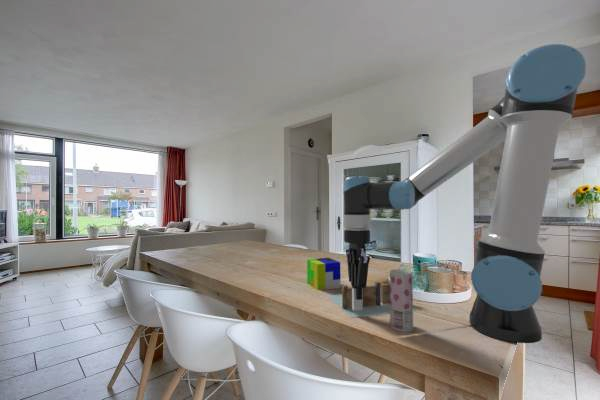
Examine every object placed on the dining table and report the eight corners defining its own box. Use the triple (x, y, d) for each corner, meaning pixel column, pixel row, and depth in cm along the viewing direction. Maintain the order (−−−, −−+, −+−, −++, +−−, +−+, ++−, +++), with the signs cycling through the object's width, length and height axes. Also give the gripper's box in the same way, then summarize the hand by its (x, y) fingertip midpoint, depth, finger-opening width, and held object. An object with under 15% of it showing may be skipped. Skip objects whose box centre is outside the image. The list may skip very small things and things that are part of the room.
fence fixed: (400, 300, 93) (400, 280, 93) (403, 301, 92) (403, 281, 92) (380, 302, 91) (380, 282, 91) (383, 304, 89) (383, 283, 90)
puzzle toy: (340, 287, 110) (340, 262, 110) (317, 290, 106) (317, 264, 106) (328, 281, 119) (328, 257, 119) (307, 283, 116) (307, 259, 116)
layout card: (417, 310, 86) (417, 309, 86) (352, 319, 80) (352, 317, 80) (382, 291, 105) (382, 289, 105) (326, 296, 99) (326, 295, 99)
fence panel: (378, 303, 91) (378, 281, 91) (381, 305, 89) (381, 283, 89) (341, 307, 87) (341, 285, 88) (343, 309, 86) (343, 287, 86)
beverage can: (407, 323, 77) (406, 268, 77) (417, 333, 71) (416, 274, 71) (387, 323, 76) (386, 269, 77) (395, 333, 71) (394, 274, 71)
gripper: (378, 230, 76) (379, 317, 76) (360, 226, 89) (360, 300, 89) (353, 231, 75) (353, 319, 75) (337, 227, 88) (338, 302, 88)
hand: (357, 309), depth 82 cm, fingers closed
